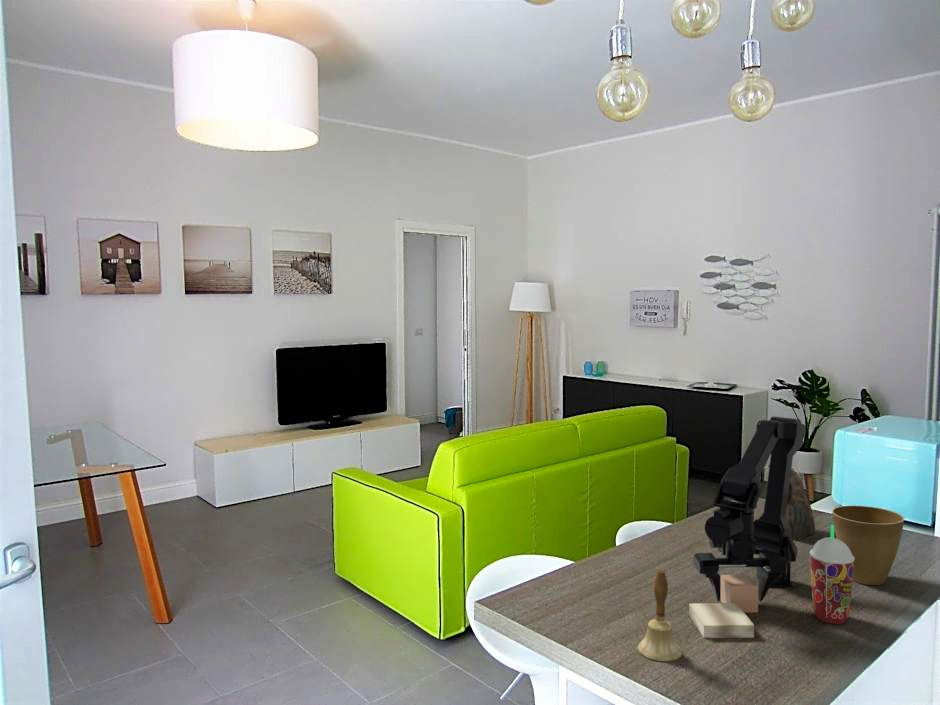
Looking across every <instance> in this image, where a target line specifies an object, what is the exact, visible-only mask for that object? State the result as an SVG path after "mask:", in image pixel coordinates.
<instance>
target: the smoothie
mask: <svg viewBox="0 0 940 705" xmlns="http://www.w3.org/2000/svg"><path fill="white" fill-rule="evenodd" d="M829 535H830V537H823V538H821V539H819V540H817V541H816V542H815V543H814V545H813V547H811V548H812V549H810V550H809V561H810V580H811V581H810V584H811V597H812V598H811V599H812V600H811V601H812V611H813V612H814V614H815V617H816V618H817V619H818V620H820V621H822V622H824V623H827V624H832V625H833V624H834V625H841V624H844V623H845V622H847V618H849V617H850V609H851V608H850V607H851V599H852V598H851V597H852V587H853V586H852V585H853V584H852V583H853V580H852V577H853V567H854V559H855V557H854V556H853V555H852V553H851V550H850V549H849V547H848V546H847V545H846V544H845V543H844V542H843V541H841V540H839V539H837V538H836V537H835V528H834V524H831V525H830V534H829Z"/></svg>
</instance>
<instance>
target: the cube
mask: <svg viewBox="0 0 940 705" xmlns="http://www.w3.org/2000/svg"><path fill="white" fill-rule="evenodd" d="M758 586H759V584H757V583H756V582H755V580H754V579H753V578H751V576H750V575H749V574H720V603H737V605H738V606H739V607H740V608H741V609H742V611H743V612H744V613H745V614H746V613H759V599H758Z"/></svg>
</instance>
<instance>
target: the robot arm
mask: <svg viewBox="0 0 940 705" xmlns="http://www.w3.org/2000/svg"><path fill="white" fill-rule="evenodd" d="M755 429H756V431H755V432H754V434H753V436H752V438H751V440H750V442H749V443H748V446H747V448H746V450H745V451H744V453H743V455H742V457H741V459H740V461H739V462H738V463H737V464H734V465H733V466H731V467H729V468H728V470H727V471H726V473H725V474H724V475H723V477H722V478H721V480H720V482H719V485H718V488H717V491H716V494H715V497H714V501H713V505H712V506H713V507H714V508H718V509H714V511H713V516H711V517H709V518H708V519H707V520H706V522H705V524H704V531H705V534H706V536H707V537H708V542H709V547H710V548H711V549H717V551H718V553H720V554H721V555H722V556H725V557H715V555H714V554H713V553H712V552H695V554H694V555H693V558H692V564H693V566H694V568H695V569H696V570H697V572H698V573H699V574H700V575H701V574H702V575H704V576H705V577H706V578H707V579H708V580H709V582H710V586H711V589H712V590H713V593H714V594H713V595H714V597H715V600H716V601H717V603H721V574H719V573H718V572H719V571H720V568H756V573H755V577H756V578H757V579H758V602H763V600H764V598H765V597H766V595H767V593H768V591H769V590H770V588H771V587H794V583H793V581H791V567H792V566H791V564H792V563H795V562H796V561H797V556H798V550H799V549H798V547H797V545H796V544H795V542H794V540H792V538H791V528H790V526H789V524H788V522H787V519H786V508H787V500H788V492H789V483H790V475H791V468H793V467H792V466H793V458H794V457H793V456H795V454H796V453H798V451H799V450H800V449H801V448H802V445H803V441H804V439H805V436H806V432H807V428H806V425H805V424H804V423H802V420H801V419H799V418H791V417H781V416H771V417H770V419H761V420H758V422H757V424H756V428H755ZM769 459H770V460H769ZM768 461H769V464H770V466H769V465H768V466H769V467H768V476H767V484H766V492H765V497H764V498H765V500H764V507H763V513H762V514H761V515H760V516H759V517H758V518H756V519H755V509H756V508H758V506H757V503H758V501H759V499H760V497H761V495H762V487H763V485H762V482H761V481H762V480H761V474H762V473H763V470H764V469H765V467H766V465H767V462H768ZM756 555H758V557H755V556H756Z"/></svg>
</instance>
